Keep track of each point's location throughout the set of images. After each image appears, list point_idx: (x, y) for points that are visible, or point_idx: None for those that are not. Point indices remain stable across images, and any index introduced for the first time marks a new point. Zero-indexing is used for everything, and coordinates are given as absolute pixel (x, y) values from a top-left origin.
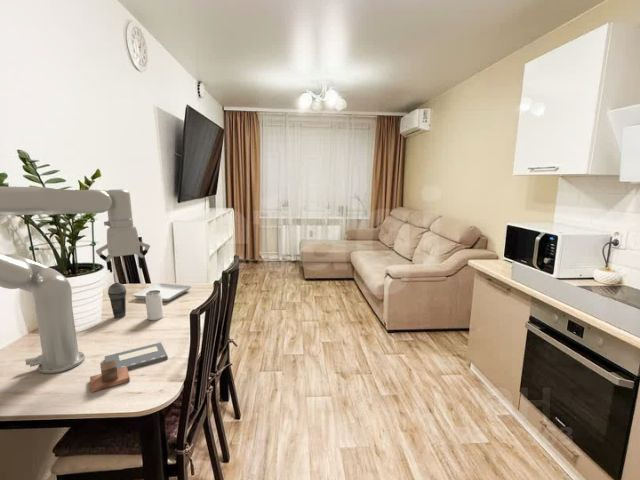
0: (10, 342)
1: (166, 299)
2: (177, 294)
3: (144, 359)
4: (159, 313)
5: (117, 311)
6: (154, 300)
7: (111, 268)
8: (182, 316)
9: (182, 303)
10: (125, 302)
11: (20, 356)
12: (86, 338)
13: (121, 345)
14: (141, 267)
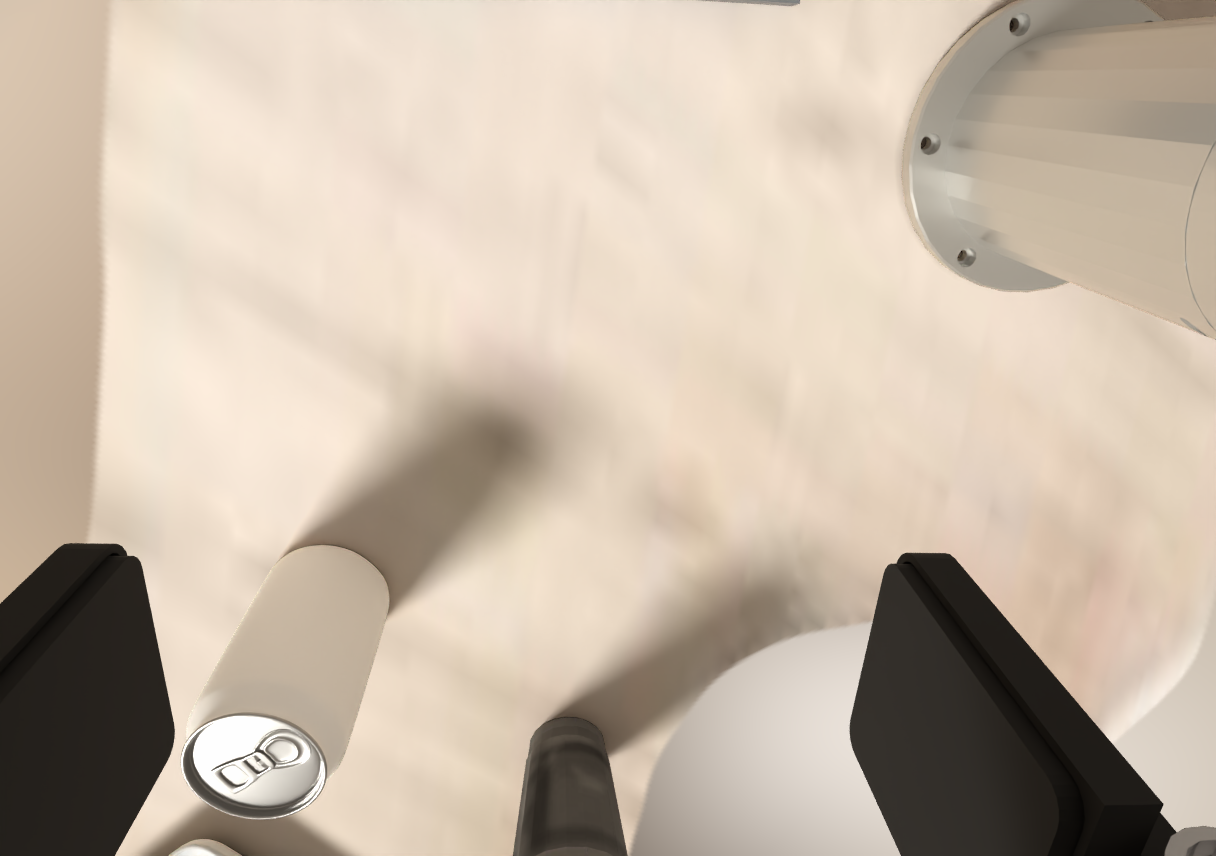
0: (1170, 678)
1: (206, 842)
2: None
3: None
4: (283, 574)
5: (584, 758)
6: (273, 657)
7: (955, 623)
8: (109, 504)
9: None
10: (518, 826)
11: (1187, 443)
12: (821, 493)
13: (638, 207)
14: (73, 550)
